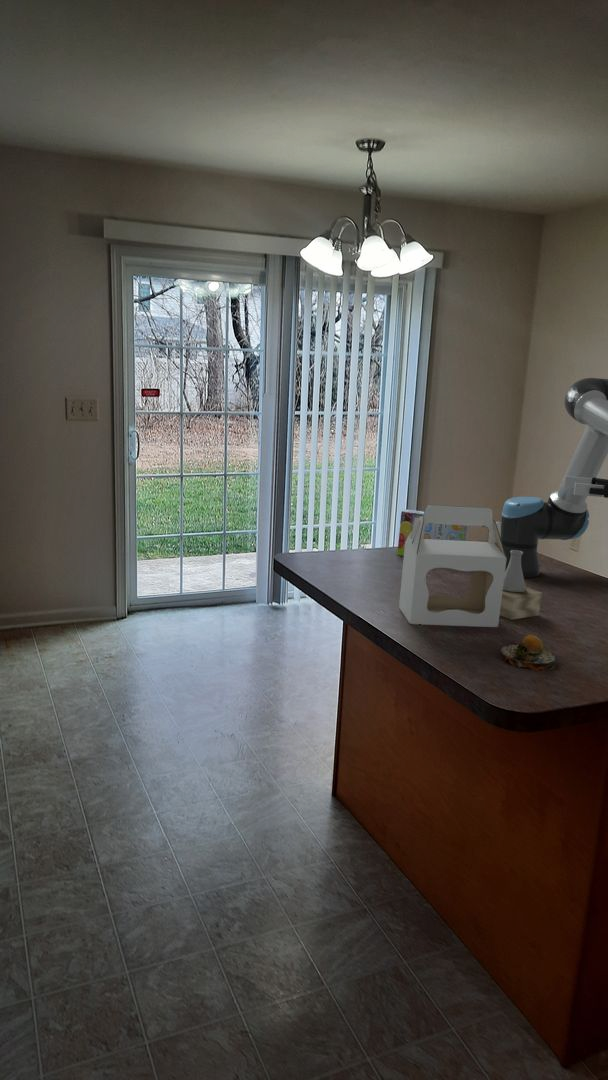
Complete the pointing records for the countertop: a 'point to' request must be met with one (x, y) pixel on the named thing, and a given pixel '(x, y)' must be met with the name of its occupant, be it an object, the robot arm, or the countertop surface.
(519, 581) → the flask
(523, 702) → the countertop surface
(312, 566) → the countertop surface
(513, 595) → the beech box
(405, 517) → the snack box
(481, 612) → the gable box
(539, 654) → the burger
